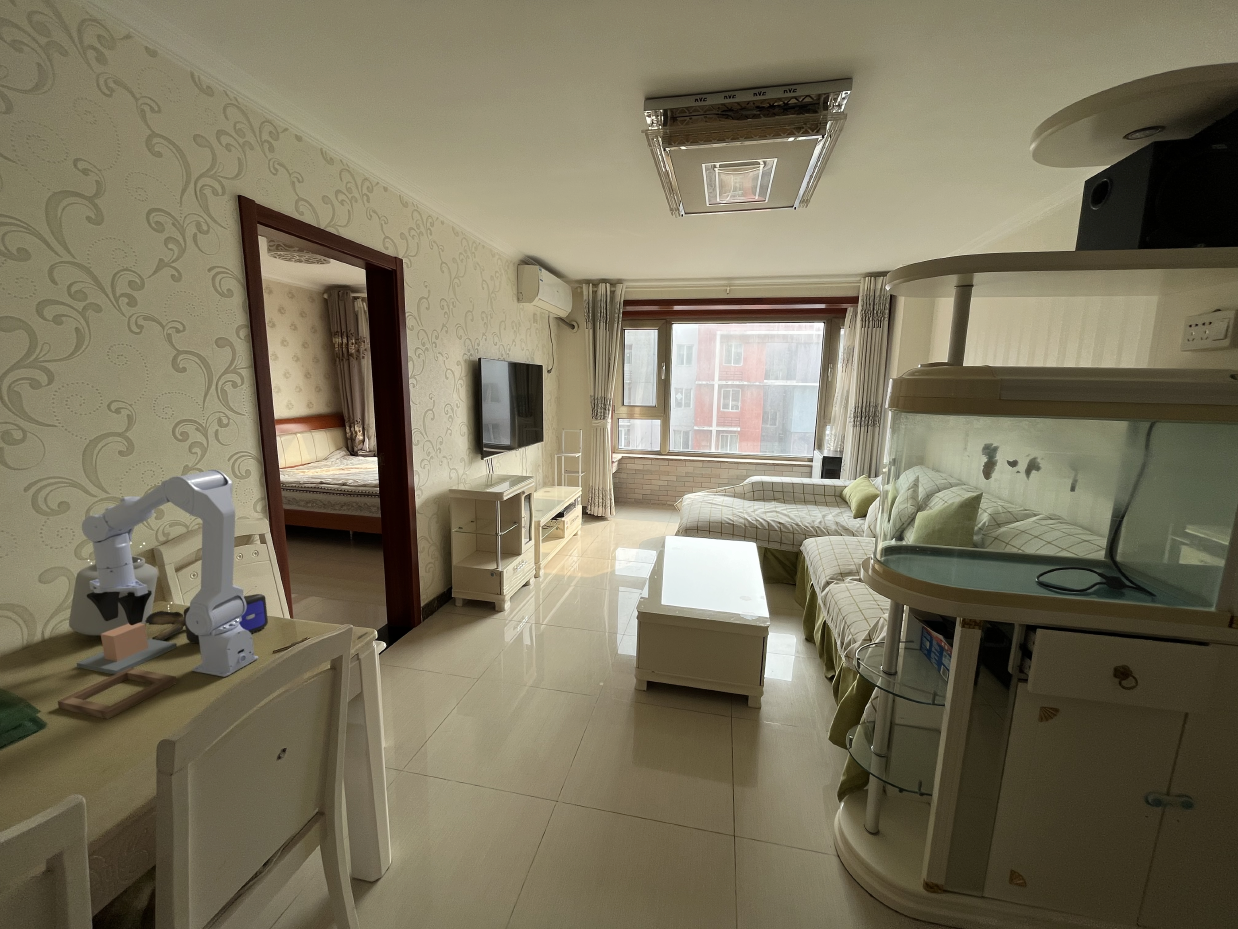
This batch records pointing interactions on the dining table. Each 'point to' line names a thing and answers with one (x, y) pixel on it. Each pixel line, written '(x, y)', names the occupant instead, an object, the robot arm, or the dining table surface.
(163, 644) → the mat
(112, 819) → the dining table surface
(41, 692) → the dining table surface
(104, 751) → the dining table surface
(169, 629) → the eagle figurine
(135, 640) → the terracotta block
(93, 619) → the jar
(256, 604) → the dark rounded block
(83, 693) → the brown wooden frame
